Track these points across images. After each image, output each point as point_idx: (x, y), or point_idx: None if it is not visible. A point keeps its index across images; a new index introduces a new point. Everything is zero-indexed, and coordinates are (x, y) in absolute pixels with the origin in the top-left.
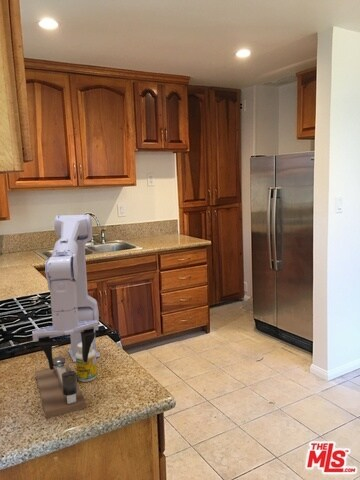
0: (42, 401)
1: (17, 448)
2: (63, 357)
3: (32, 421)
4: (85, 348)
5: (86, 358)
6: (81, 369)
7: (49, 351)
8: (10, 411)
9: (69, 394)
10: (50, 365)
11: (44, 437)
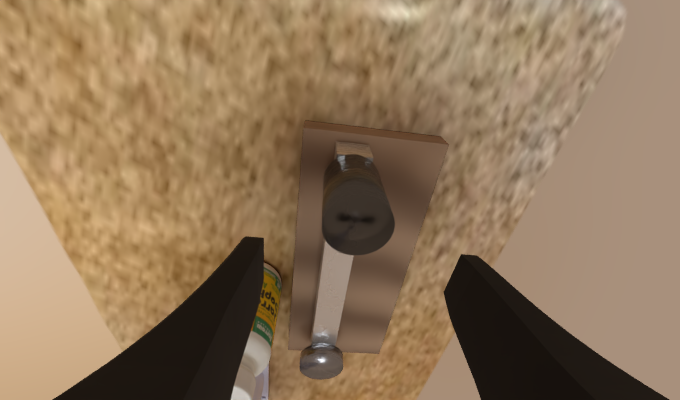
0: (422, 217)
1: (596, 12)
2: (302, 371)
3: (479, 146)
4: (217, 318)
5: (242, 250)
6: (264, 299)
7: (596, 378)
8: (498, 230)
9: (363, 157)
10: (497, 274)
11: (498, 19)
